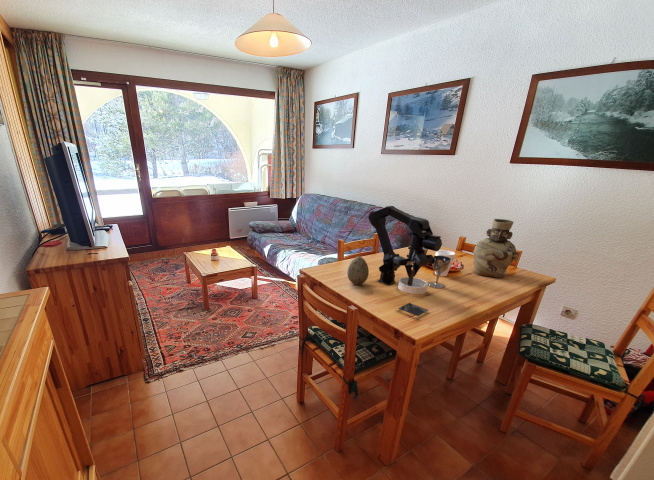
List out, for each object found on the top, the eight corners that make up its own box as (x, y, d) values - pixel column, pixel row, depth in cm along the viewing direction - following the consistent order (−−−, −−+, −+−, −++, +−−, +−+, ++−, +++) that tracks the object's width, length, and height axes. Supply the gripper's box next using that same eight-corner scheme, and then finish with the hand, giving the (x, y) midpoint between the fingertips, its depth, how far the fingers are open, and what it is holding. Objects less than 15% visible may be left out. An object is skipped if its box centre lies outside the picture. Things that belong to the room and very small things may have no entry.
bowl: (392, 290, 155) (393, 281, 153) (406, 283, 163) (408, 275, 161) (417, 299, 146) (418, 289, 144) (431, 292, 153) (432, 282, 151)
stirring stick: (403, 288, 155) (407, 269, 151) (407, 286, 157) (410, 268, 153) (410, 290, 152) (414, 271, 149) (414, 288, 155) (417, 270, 151)
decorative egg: (342, 281, 166) (345, 254, 160) (361, 279, 169) (363, 253, 163) (352, 289, 157) (354, 261, 151) (371, 286, 159) (374, 259, 153)
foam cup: (432, 275, 173) (436, 253, 168) (431, 270, 181) (435, 249, 176) (451, 278, 170) (456, 255, 165) (449, 272, 178) (454, 251, 173)
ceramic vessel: (499, 282, 164) (516, 226, 153) (462, 270, 182) (474, 219, 170) (519, 276, 173) (536, 223, 161) (481, 265, 190) (494, 216, 178)
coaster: (397, 311, 135) (398, 308, 134) (408, 305, 140) (409, 302, 139) (417, 319, 128) (417, 316, 128) (428, 313, 133) (428, 309, 133)
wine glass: (446, 289, 157) (452, 261, 151) (429, 287, 158) (435, 260, 152) (442, 282, 164) (448, 256, 158) (426, 281, 165) (431, 255, 160)
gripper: (407, 252, 138) (402, 284, 144) (445, 250, 140) (438, 281, 146) (395, 245, 148) (390, 275, 154) (430, 243, 150) (424, 273, 157)
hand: (411, 276), depth 152 cm, fingers closed on stirring stick, 2 cm apart
